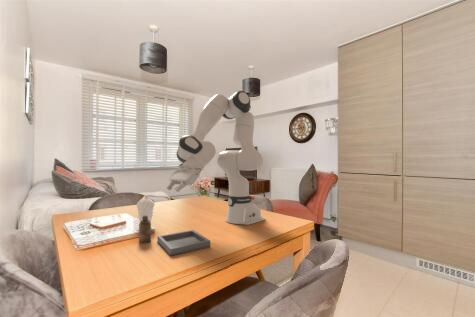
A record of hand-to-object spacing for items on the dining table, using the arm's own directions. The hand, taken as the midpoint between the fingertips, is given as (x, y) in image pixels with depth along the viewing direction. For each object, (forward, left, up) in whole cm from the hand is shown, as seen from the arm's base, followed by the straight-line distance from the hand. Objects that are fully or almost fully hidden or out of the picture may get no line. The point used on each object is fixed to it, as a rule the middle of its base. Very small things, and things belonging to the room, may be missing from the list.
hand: (172, 190), depth 108 cm
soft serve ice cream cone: (+7, -17, -20) cm, 28 cm away
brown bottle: (+12, +3, -20) cm, 24 cm away
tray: (0, +15, -20) cm, 25 cm away
